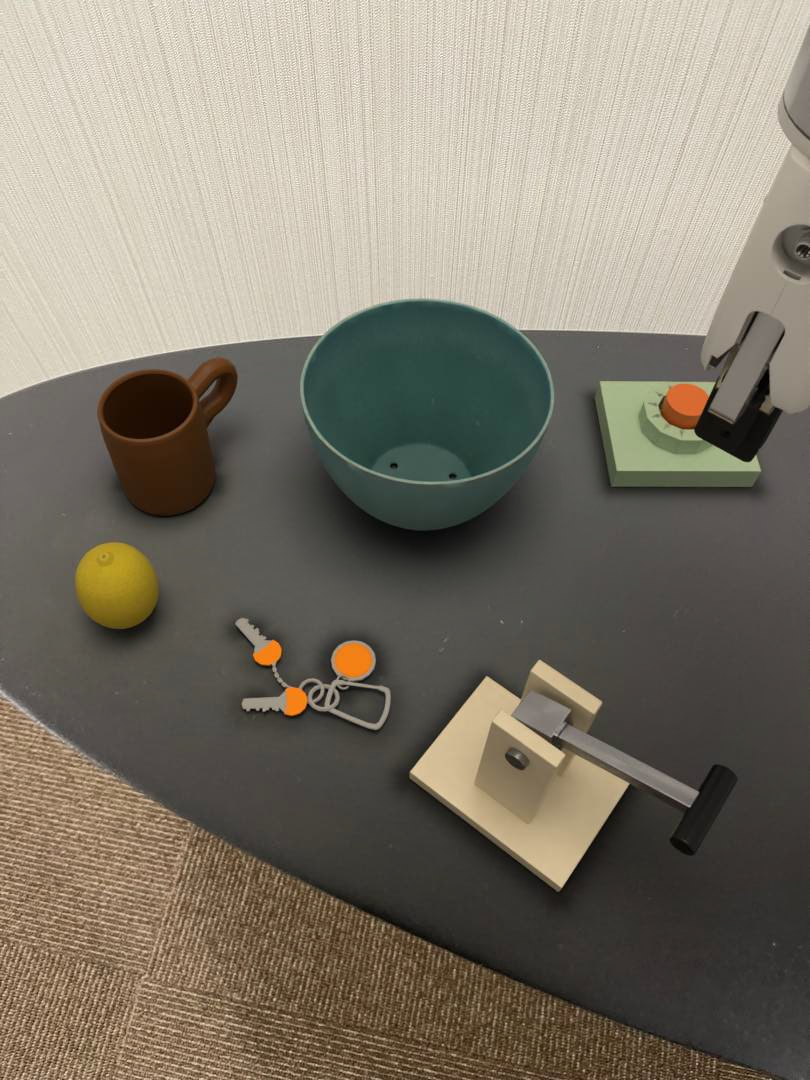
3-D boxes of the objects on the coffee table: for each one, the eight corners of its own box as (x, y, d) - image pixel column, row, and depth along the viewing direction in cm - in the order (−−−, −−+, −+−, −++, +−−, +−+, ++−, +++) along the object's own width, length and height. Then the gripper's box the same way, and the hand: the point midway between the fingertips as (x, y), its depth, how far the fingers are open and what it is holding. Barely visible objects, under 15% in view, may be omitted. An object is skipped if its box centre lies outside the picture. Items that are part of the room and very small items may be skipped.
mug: (214, 404, 80) (197, 322, 72) (275, 450, 77) (264, 370, 69) (104, 483, 74) (73, 405, 66) (165, 536, 72) (140, 461, 64)
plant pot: (289, 425, 78) (278, 317, 68) (489, 388, 82) (506, 280, 71) (336, 602, 69) (331, 507, 59) (561, 553, 72) (592, 455, 62)
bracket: (629, 783, 62) (678, 715, 52) (558, 892, 58) (597, 840, 48) (484, 682, 66) (505, 600, 56) (408, 778, 61) (416, 707, 52)
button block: (726, 398, 82) (741, 367, 79) (752, 487, 76) (769, 457, 73) (594, 398, 81) (603, 366, 78) (610, 486, 76) (621, 456, 73)
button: (699, 397, 77) (705, 383, 76) (708, 430, 75) (715, 415, 74) (657, 397, 77) (663, 382, 75) (665, 429, 75) (671, 415, 73)
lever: (736, 790, 49) (739, 767, 48) (694, 864, 47) (695, 843, 45) (547, 694, 56) (543, 671, 54) (501, 755, 54) (496, 733, 52)
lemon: (95, 585, 69) (65, 525, 62) (169, 579, 69) (147, 519, 63) (89, 650, 66) (57, 594, 59) (166, 644, 66) (143, 588, 60)
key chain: (405, 654, 66) (406, 649, 66) (379, 746, 62) (379, 742, 62) (240, 613, 68) (239, 608, 67) (204, 701, 64) (202, 696, 63)
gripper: (936, 245, 26) (728, 577, 41) (1078, 41, 33) (854, 390, 48) (704, 146, 29) (587, 494, 44) (880, -25, 35) (726, 327, 51)
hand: (727, 439), depth 46 cm, fingers closed
